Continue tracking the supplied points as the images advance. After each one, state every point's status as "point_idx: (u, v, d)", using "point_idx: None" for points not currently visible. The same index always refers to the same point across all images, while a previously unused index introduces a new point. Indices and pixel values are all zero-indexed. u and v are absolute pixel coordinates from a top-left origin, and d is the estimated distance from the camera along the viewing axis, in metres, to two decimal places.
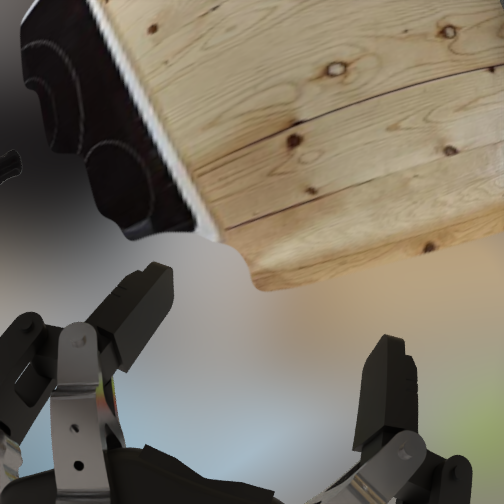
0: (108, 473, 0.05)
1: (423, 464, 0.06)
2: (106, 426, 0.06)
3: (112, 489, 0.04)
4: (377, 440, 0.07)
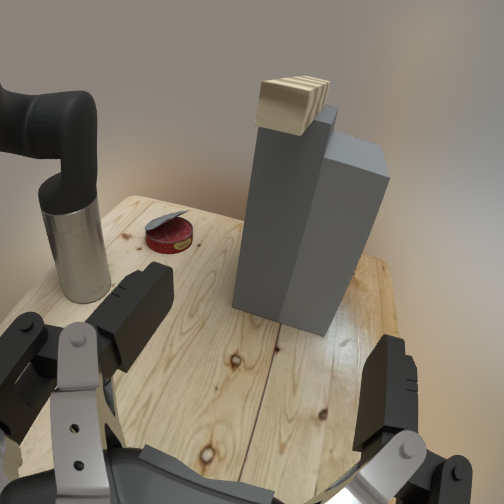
0: (108, 473, 0.05)
1: (423, 464, 0.06)
2: (106, 426, 0.06)
3: (112, 489, 0.04)
4: (377, 440, 0.07)
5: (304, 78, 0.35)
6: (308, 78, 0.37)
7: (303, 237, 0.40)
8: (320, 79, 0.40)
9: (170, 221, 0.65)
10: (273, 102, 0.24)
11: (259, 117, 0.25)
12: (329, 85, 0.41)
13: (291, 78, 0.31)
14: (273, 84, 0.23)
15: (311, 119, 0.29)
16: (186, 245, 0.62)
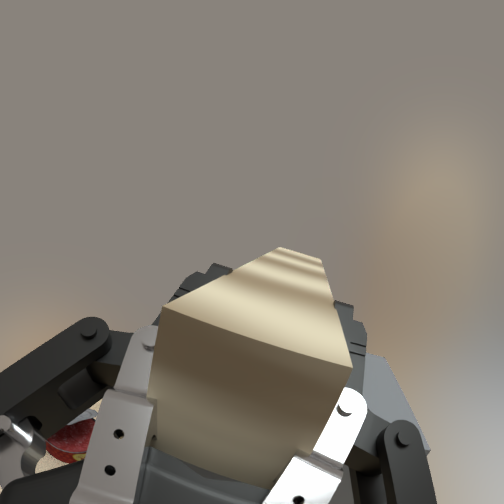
0: (138, 485, 0.05)
1: (366, 426, 0.07)
2: (153, 436, 0.06)
3: (135, 501, 0.04)
4: None
5: (284, 257, 0.22)
6: (289, 255, 0.24)
7: None
8: (305, 255, 0.28)
9: None
10: (201, 394, 0.06)
11: None
12: None
13: (263, 262, 0.17)
14: (207, 326, 0.06)
15: None
16: None
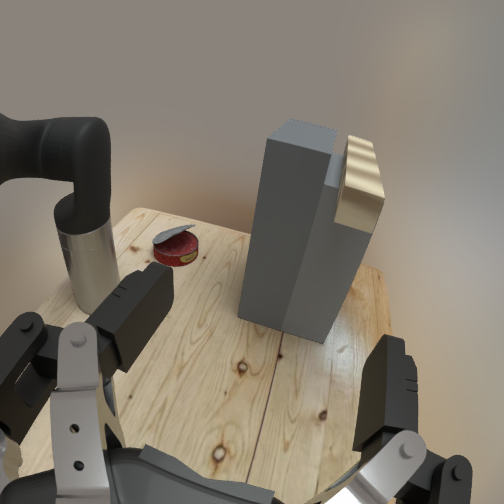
0: (108, 473, 0.05)
1: (423, 464, 0.06)
2: (106, 426, 0.06)
3: (112, 489, 0.04)
4: (377, 440, 0.07)
5: (355, 148, 0.40)
6: (357, 145, 0.42)
7: (304, 255, 0.44)
8: (363, 140, 0.45)
9: (177, 234, 0.68)
10: (353, 205, 0.28)
11: (339, 215, 0.29)
12: None
13: (350, 156, 0.36)
14: (355, 189, 0.27)
15: None
16: (192, 258, 0.65)
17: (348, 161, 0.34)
